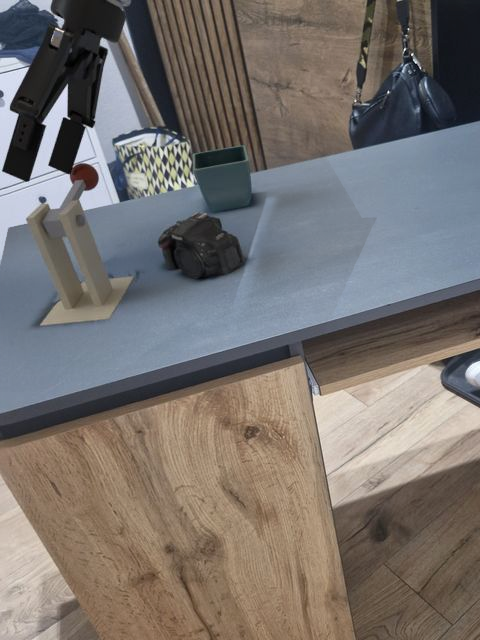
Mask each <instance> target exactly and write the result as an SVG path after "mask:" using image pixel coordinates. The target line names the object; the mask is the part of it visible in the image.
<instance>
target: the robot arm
mask: <svg viewBox="0 0 480 640" xmlns="http://www.w3.org/2000/svg"><path fill="white" fill-rule="evenodd" d="M131 3H132V0H51V4H50V7H49V8H50V11H51V13H52V14H53V15H54V16H56V17H58V18H61V19H62V20H63V24H62V25H61V27H60V26H57V25H55V24H53V23H51V22H50V23H48V24H47V27H46V28H45V29H46V30H45V32H44V35H43V37H42V41H41V44H40V46H39V48H38V49H37V52H36V53H35V55H34V57H33V59H32V61H31V63H30V64H29V66H28V69H27V71H26V73H25V75H24V76H23V79H22V81H21V83H20V84H19V86H18V88H17V90H16V92H15V94H14V96H13V98H12V100H11V101H10V104H9V111H10V112H13V113H15V114H17V118H16V122H15V125H14V129H13V132H12V135H11V138H10V142H9V146H8V149H7V152H6V155H5V158H4V161H3V166H2V170H1V172H2V173H5V174H7V175H9V176H12V177H14V178H16V179H19V180H21V181H23V182H26V183H28V182H30V180H31V177H32V174H33V171H34V168H35V164H36V161H37V158H38V154H39V151H40V148H41V145H42V141H43V138H44V135H45V131H46V129H47V125H46V124H44V122H45V120H46V118H48V115H49V114H50V112H51V111H52V109H53V108H54V107H55V104H56V103H57V101H58V100H59V98H60V96H61V95H62V93H63V92H64V91H65V88H66V87H67V101H66V103H67V107H66V108H67V109H66V110H67V111H66V113H67V114H66V116H67V117H66V116H65V117H64V116H63V117H62V119H61V123H60V126H59V129H58V133H57V135H56V139H55V141H54V144H53V145H54V146H53V148H52V152H51V154H50V157H49V161H48V165H47V166H49V167H50V168H53V169H55V170H58V171H59V172H62V173H64V174H66V175H69V176H70V174H71V171H72V168H73V167H74V166H75V161H76V158H77V155H78V152H79V150H80V148H81V147H80V146H81V143H82V141H83V137H84V134H85V131H86V127H87V128H90V129H93V128H95V125H96V120H95V119H96V114H97V109H98V103H99V102H98V101H99V97H100V91H101V85H102V80H103V74H104V67H105V63H106V61H107V57H108V54H109V49H108V48H106V47H105V46H103V45H101V40H102V39H104V40H106V41H108V42H110V43H113V44H116V43H118V42H119V41H120V38H121V36H122V32H123V29H124V27H125V23H126V20H127V17H128V16H127V15H126V14H127V12H126V11H125V10H123V9H124V7H129V6H131Z"/></svg>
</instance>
